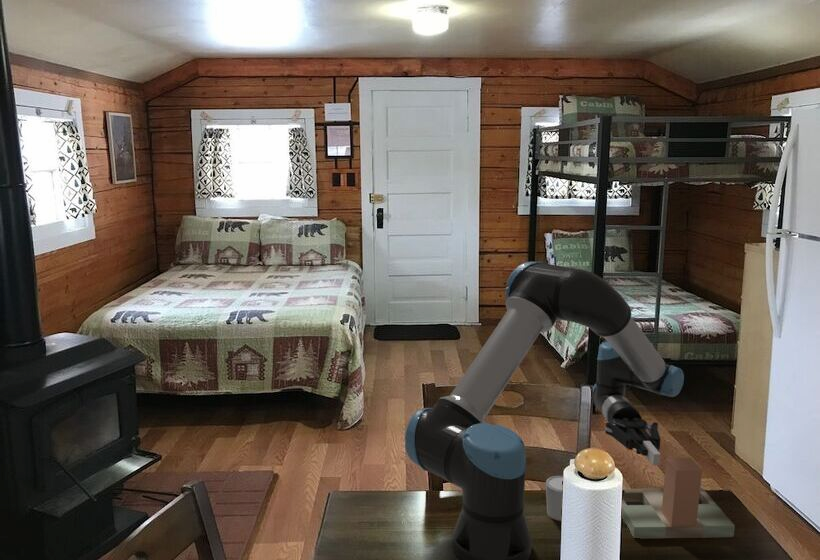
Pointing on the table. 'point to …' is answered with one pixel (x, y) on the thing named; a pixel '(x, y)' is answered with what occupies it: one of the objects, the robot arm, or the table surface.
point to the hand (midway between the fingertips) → (656, 459)
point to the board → (650, 522)
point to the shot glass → (554, 496)
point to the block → (681, 491)
